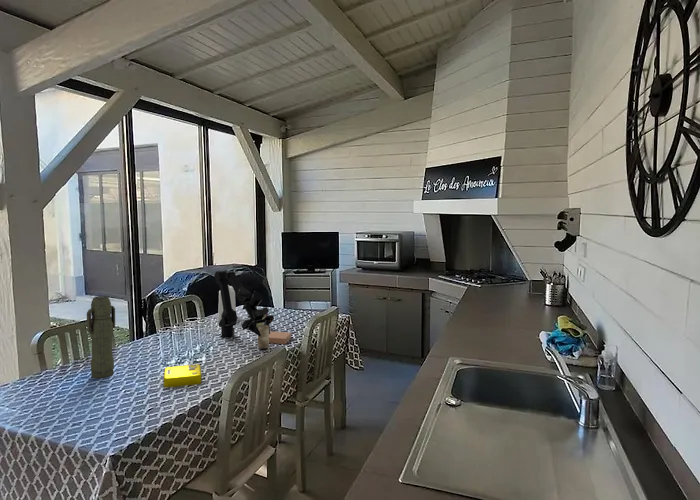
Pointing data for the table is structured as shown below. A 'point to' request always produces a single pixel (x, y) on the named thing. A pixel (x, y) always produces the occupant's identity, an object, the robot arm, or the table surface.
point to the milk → (220, 310)
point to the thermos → (101, 336)
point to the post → (263, 336)
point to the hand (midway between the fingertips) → (264, 334)
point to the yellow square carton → (182, 375)
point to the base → (279, 337)
